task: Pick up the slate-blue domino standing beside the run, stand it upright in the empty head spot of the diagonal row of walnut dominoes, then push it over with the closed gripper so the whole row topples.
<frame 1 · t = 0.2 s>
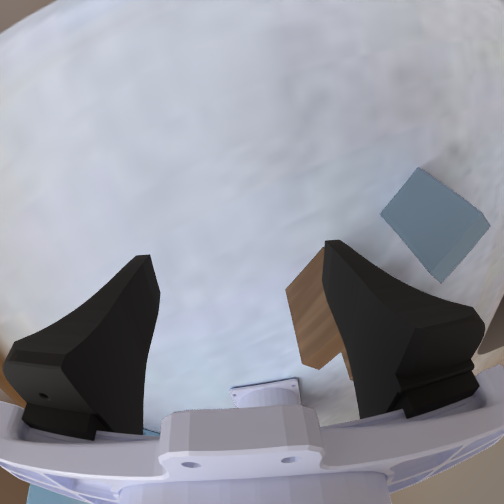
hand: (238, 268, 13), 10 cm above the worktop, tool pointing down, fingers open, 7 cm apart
placed domino: (405, 196, 23), on the worktop
gum box: (110, 421, 40), on the worktop
domino 2: (310, 273, 26), on the worktop
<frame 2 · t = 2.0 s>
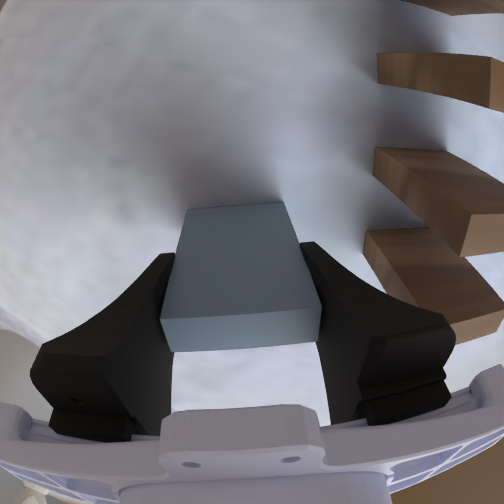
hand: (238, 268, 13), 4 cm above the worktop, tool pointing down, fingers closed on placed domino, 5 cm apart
domino 3: (412, 162, 15), on the worktop
domino 4: (418, 75, 13), on the worktop
placed domino: (236, 219, 17), on the worktop, touching gripper
soap bottle: (36, 481, 59), on the worktop
domino 2: (400, 240, 18), on the worktop
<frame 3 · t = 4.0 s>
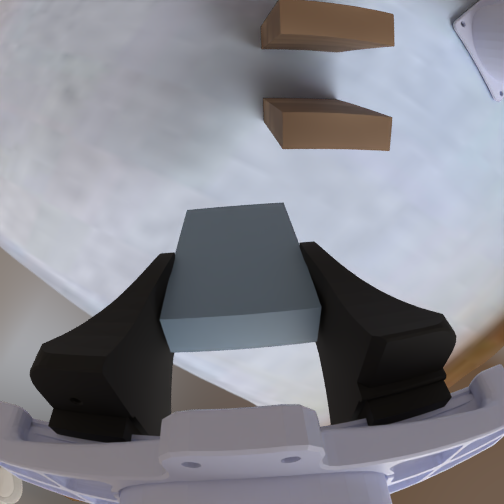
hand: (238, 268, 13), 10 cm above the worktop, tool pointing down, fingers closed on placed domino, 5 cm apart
domino 3: (300, 38, 16), on the worktop
placed domino: (236, 219, 17), point 6 cm above the worktop, touching gripper
soap bottle: (11, 452, 59), on the worktop
domino 2: (301, 109, 19), on the worktop
when the fingers open (5 cm above the worktop, at t = 6.2 s): placed domino stays where it is, on the worktop.
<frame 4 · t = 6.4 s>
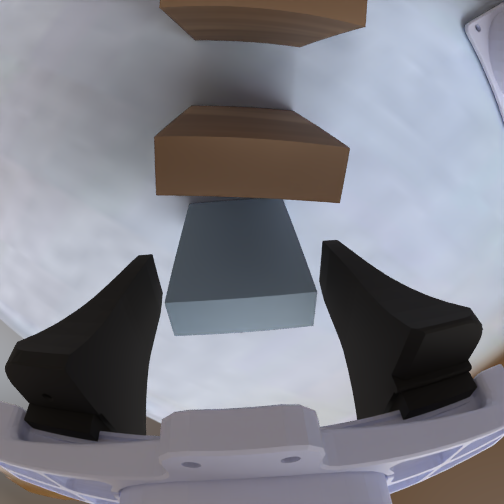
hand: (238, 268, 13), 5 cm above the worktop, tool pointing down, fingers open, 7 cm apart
domino 3: (249, 27, 12), on the worktop
placed domino: (236, 213, 17), on the worktop
domino 2: (241, 122, 15), on the worktop
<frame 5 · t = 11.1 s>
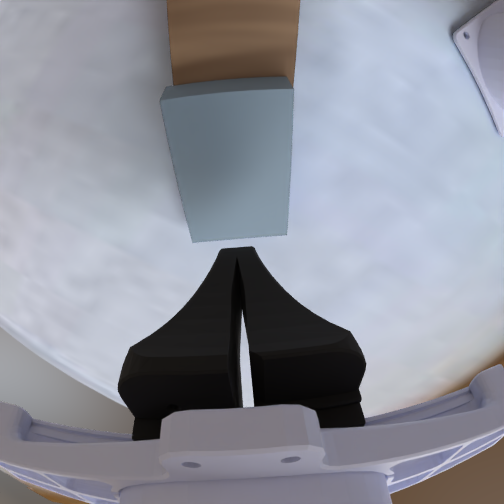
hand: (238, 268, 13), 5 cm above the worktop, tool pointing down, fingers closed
placed domino: (238, 227, 17), point 1 cm above the worktop, tilted 72°, touching domino 2
domino 2: (233, 129, 14), point 1 cm above the worktop, tilted 72°, touching domino 3, placed domino
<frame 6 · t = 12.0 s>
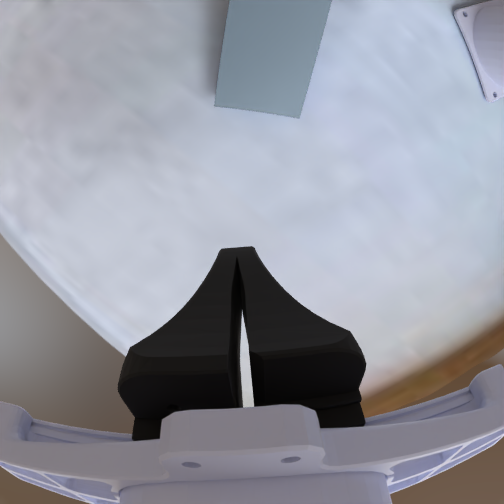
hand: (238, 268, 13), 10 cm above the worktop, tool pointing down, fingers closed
placed domino: (257, 106, 17), point 1 cm above the worktop, tilted 72°, touching domino 2
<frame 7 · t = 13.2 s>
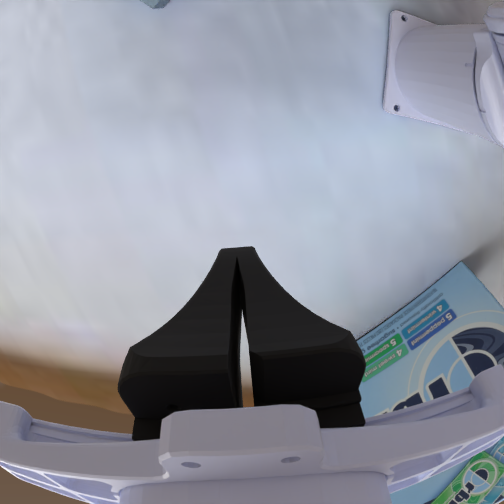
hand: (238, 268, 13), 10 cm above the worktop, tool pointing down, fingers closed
gum box: (398, 322, 31), on the worktop
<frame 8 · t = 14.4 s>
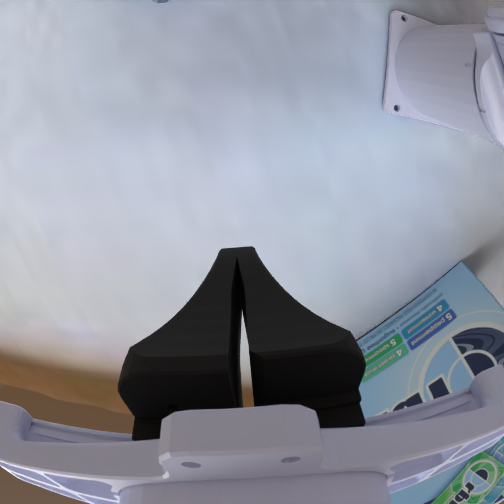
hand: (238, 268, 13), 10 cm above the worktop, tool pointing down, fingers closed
gum box: (398, 322, 31), on the worktop
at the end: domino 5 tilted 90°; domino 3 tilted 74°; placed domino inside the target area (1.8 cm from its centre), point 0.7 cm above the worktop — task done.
